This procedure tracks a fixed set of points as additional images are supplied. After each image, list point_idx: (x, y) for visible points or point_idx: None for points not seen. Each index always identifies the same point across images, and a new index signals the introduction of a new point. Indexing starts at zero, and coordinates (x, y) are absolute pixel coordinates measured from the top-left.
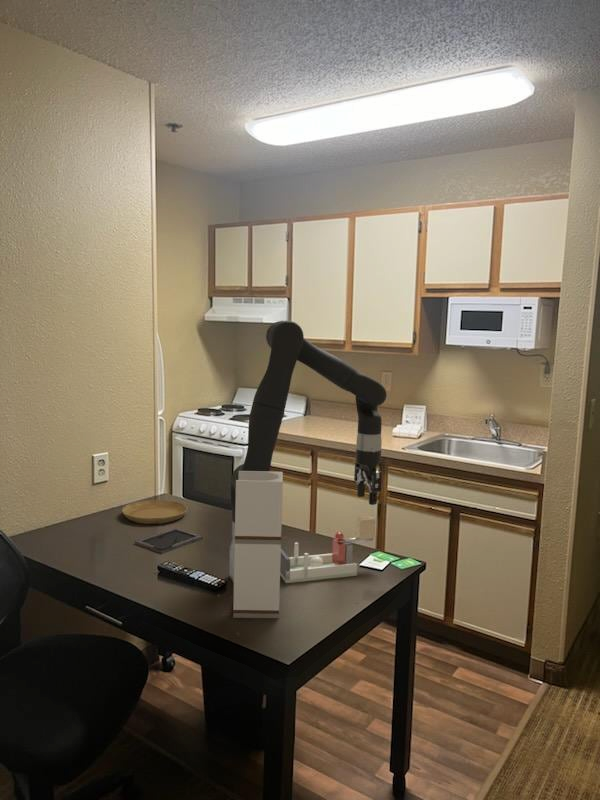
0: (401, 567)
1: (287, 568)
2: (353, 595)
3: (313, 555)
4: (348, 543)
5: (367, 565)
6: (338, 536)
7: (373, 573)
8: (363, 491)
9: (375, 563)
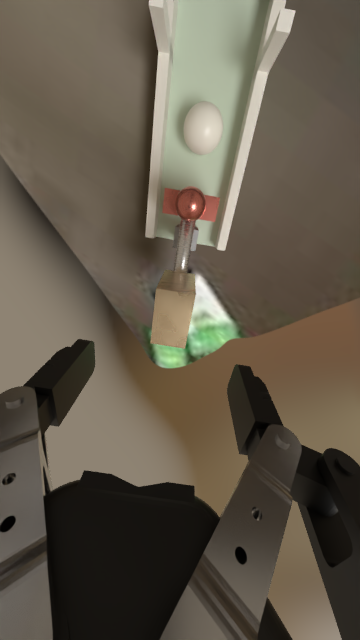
0: None
1: None
2: (56, 162)
3: (247, 145)
4: None
5: None
6: (179, 192)
7: (149, 274)
8: (232, 407)
9: None
